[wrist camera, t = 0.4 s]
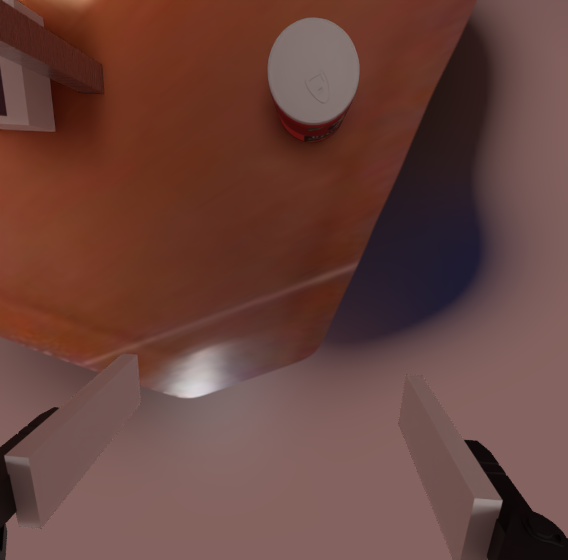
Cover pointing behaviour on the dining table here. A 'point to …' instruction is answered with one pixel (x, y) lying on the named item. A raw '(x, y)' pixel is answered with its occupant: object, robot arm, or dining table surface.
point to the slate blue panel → (45, 54)
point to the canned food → (313, 77)
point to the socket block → (26, 91)
